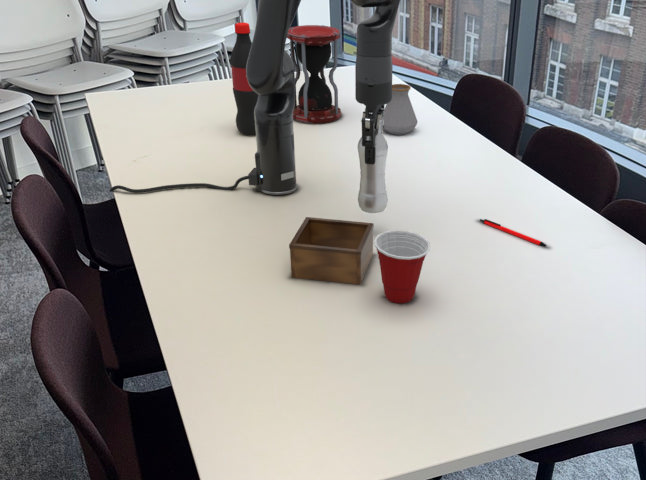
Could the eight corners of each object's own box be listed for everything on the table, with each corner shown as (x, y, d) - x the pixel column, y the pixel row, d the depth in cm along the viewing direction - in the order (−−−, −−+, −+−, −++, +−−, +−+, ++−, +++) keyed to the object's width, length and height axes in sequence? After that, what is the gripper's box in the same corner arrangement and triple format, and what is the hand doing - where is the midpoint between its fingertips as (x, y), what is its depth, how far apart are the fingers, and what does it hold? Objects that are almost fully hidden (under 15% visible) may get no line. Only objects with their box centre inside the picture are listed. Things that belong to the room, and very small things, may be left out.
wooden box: (290, 277, 157) (288, 244, 152) (307, 248, 168) (306, 216, 163) (361, 284, 155) (361, 251, 151) (373, 254, 166) (373, 223, 161)
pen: (481, 221, 181) (481, 216, 181) (547, 247, 171) (548, 242, 170) (478, 222, 181) (479, 217, 180) (545, 248, 170) (546, 243, 170)
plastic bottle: (384, 218, 169) (386, 127, 157) (354, 215, 170) (354, 124, 158) (389, 206, 174) (392, 117, 162) (361, 203, 175) (361, 115, 163)
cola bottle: (270, 130, 230) (262, 21, 212) (257, 138, 224) (248, 27, 205) (244, 126, 232) (235, 18, 214) (231, 134, 226) (220, 24, 207)
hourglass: (281, 119, 238) (276, 33, 222) (303, 105, 250) (300, 22, 235) (328, 126, 234) (327, 38, 218) (348, 112, 246) (348, 27, 230)
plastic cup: (409, 316, 146) (412, 260, 138) (362, 300, 150) (363, 244, 143) (437, 293, 153) (441, 238, 146) (391, 278, 158) (393, 224, 150)
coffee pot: (423, 134, 230) (426, 82, 221) (389, 139, 226) (391, 86, 217) (392, 113, 245) (393, 64, 236) (359, 118, 241) (359, 68, 232)
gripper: (362, 66, 160) (362, 145, 171) (348, 85, 149) (349, 168, 159) (397, 69, 160) (395, 148, 170) (386, 88, 148) (384, 171, 159)
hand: (372, 157), depth 165 cm, fingers closed on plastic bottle, 6 cm apart
